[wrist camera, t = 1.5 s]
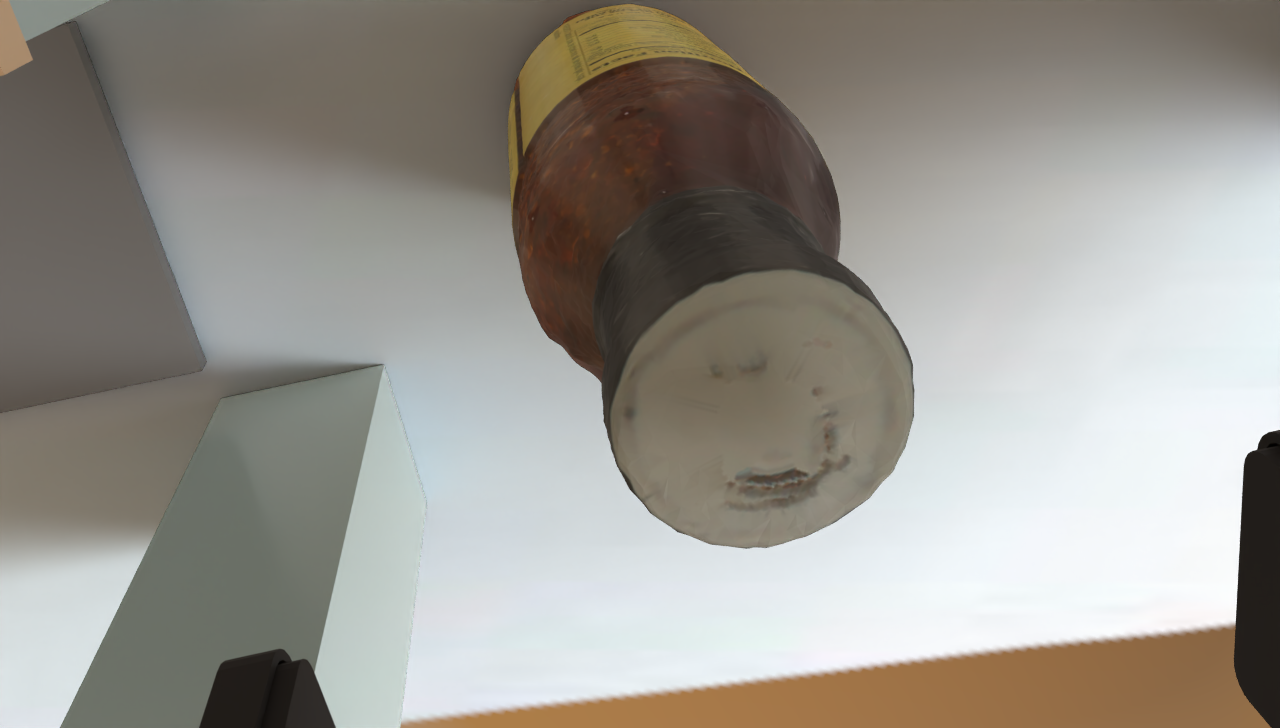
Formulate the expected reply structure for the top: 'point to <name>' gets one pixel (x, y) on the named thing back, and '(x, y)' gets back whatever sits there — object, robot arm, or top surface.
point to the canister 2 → (275, 561)
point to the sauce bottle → (701, 281)
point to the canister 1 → (32, 25)
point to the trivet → (77, 242)
